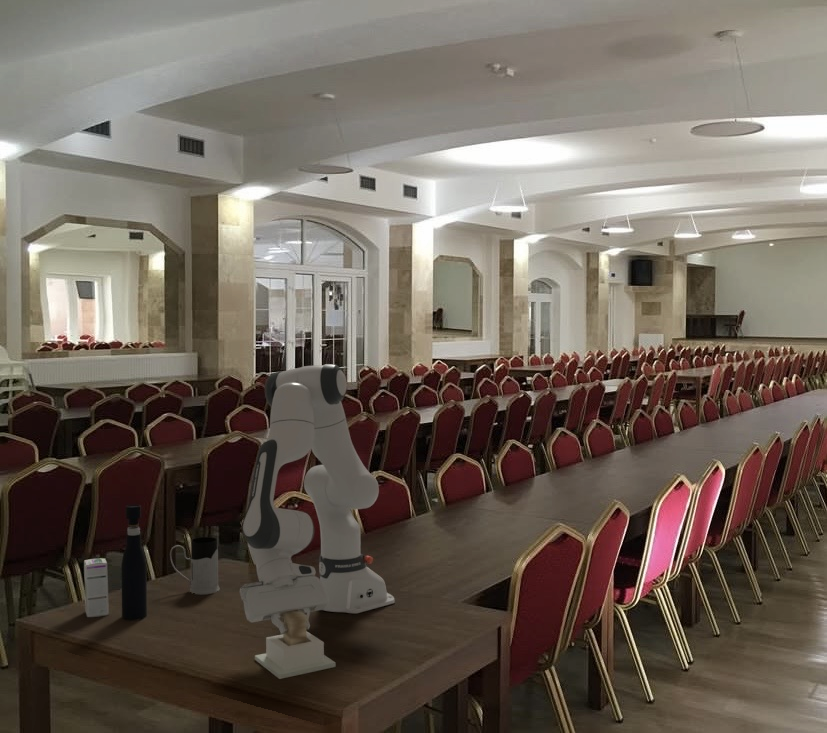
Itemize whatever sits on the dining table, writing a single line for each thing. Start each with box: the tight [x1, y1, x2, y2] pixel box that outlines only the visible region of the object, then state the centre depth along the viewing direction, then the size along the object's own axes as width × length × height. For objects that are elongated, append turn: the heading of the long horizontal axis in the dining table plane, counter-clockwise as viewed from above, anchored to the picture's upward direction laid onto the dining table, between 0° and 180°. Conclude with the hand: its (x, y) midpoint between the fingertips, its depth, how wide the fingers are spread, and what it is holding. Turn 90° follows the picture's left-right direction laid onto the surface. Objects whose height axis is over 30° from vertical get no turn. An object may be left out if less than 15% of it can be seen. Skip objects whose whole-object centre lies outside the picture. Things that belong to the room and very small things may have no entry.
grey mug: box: [169, 536, 220, 595], centre depth 274 cm, size 9×14×15 cm, turn 102°
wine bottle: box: [121, 504, 148, 621], centre depth 249 cm, size 6×6×30 cm
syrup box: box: [83, 557, 110, 618], centre depth 252 cm, size 6×6×14 cm
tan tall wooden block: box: [282, 611, 307, 646], centre depth 216 cm, size 4×4×9 cm
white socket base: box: [254, 630, 337, 680], centre depth 216 cm, size 14×14×6 cm
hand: (295, 630), depth 215 cm, fingers closed on tan tall wooden block, 4 cm apart
